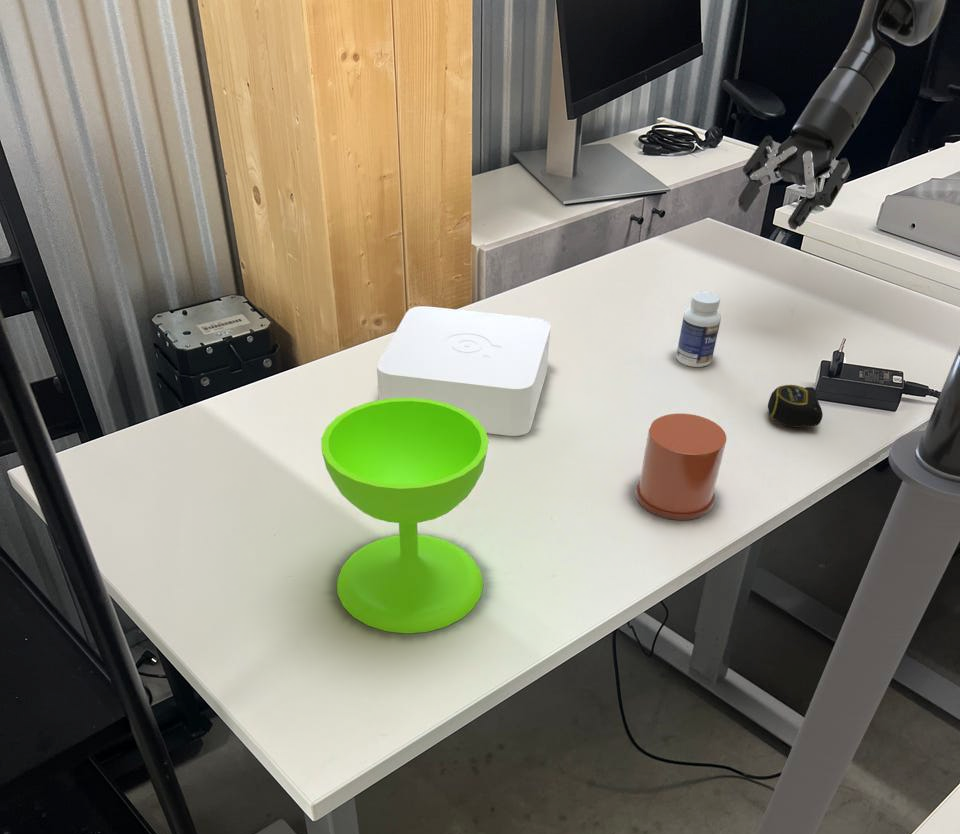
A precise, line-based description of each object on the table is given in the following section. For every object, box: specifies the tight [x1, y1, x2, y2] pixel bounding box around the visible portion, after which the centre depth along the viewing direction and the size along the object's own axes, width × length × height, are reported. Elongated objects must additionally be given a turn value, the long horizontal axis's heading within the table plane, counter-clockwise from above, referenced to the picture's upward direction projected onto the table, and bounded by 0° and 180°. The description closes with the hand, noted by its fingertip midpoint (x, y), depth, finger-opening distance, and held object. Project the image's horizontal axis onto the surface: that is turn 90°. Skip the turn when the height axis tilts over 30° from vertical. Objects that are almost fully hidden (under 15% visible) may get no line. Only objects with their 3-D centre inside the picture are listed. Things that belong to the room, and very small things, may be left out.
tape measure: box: [767, 384, 823, 428], centre depth 126 cm, size 7×7×4 cm
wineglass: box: [320, 398, 489, 634], centre depth 94 cm, size 16×16×18 cm
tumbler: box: [635, 412, 728, 521], centre depth 110 cm, size 10×10×9 cm
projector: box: [376, 305, 551, 437], centre depth 129 cm, size 21×22×7 cm
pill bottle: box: [676, 290, 722, 368], centre depth 136 cm, size 5×5×10 cm
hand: (766, 217), depth 132 cm, fingers open, 8 cm apart
